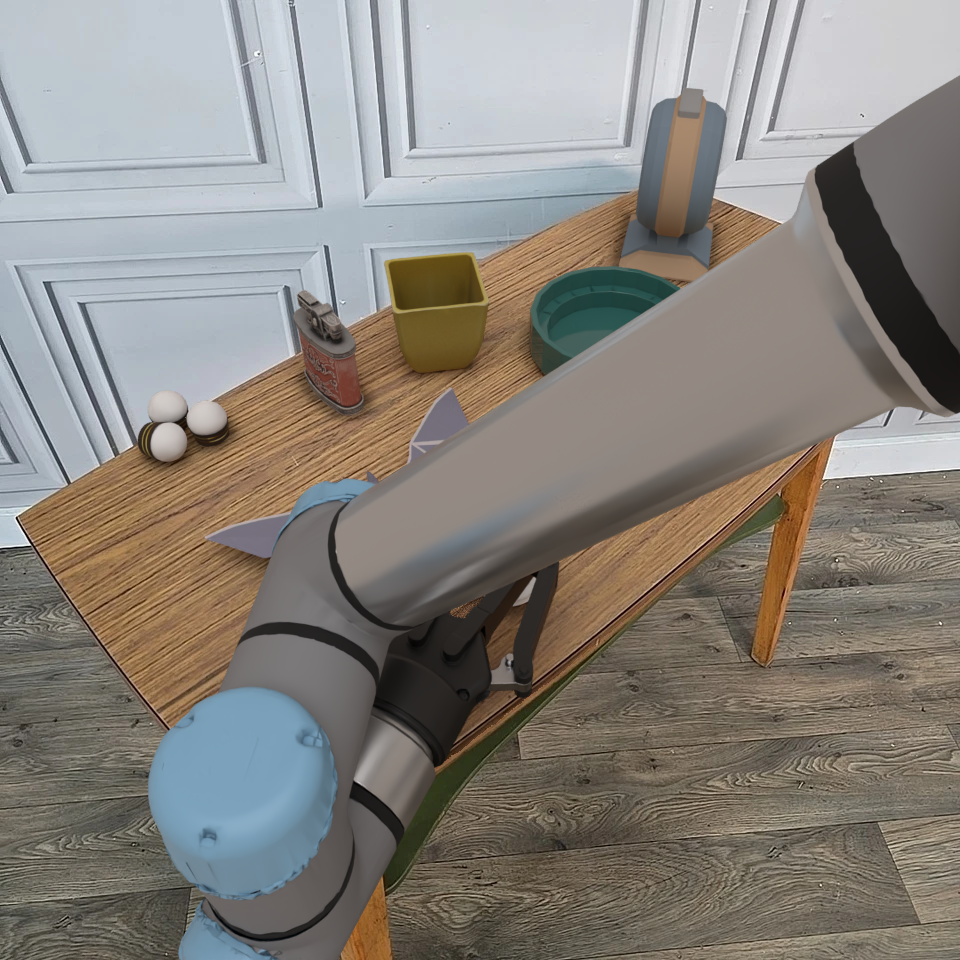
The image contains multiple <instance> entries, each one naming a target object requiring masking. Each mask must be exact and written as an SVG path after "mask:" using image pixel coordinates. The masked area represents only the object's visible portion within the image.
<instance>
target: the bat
mask: <svg viewBox="0 0 960 960" xmlns="http://www.w3.org/2000/svg"><path fill="white" fill-rule="evenodd" d="M469 424H470V422H469V421H468V418H467V417H466V415H465V412H464V411H463V409H462V406H461V403H460V401H459V399H458V397H457V395H456V393H455V391H454V389H453V387H451V386H450V387H448V388H447V389H446V390H445V391H443V393H441V394H440V395H438V397H437V398H435V400H434V401H433V403H432V404H431V405H430V407H429V408H428V410H427V412H426V414H425V415H424V417H423V419H422V421H421V422H420V424H419V426H418V427H417V429H416V431H415V432H414V434H413V436H412V437H411V439H410V441H409V442H408V443H409V445H408V450H409V451H408V457H407V461H406V464H405V465H407V464H408V463H410V462H411V461H413V460H414V459H416V458H418V457H419V456H421V455H422V454H424V453H425V452H427V451H428V450H430V449H432V448H433V447H435V446H436V445H438V444H439V443H441V442H443V441H444V440H446V439H447V438H449V437H450V436H452V435H453V434H455V433H457V432H458V431H460V430H461V429H463V428H464V427H466V426H468V425H469ZM366 480H367V482H370V483H373V484H377V483H379V482H380V481H379V479H378V478H377V477H376V476H375V475H374V474H373V473H372V472H371V471H369V470H367V471H366ZM290 513H291V511H287V512H283V513H278V514H273V515H268V516H263V517H258V518H253V519H249V520H245V521H242V522H238V523H233V524H229V525H228V526H225V527H222V528H221V529H218V530H215V531H214V532H211V533H209V534H207V535H205V536H204V539H205V540H206V541H209V542H211V543H217V544H220V545H223V546H227V547H230V548H232V549H235V550H238V551H241V552H244V553H248V554H251V555H253V556H257V557H259V558H263V559H267V558H271V556H272V550H273V545H274V543H275V542H276V539H277V536H278V533H279V531H280V530H281V528H282V527H283V526H284V524H285V523H286V521H287V519H288V517H289V515H290Z"/></svg>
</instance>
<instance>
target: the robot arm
mask: <svg viewBox="0 0 960 960" xmlns="http://www.w3.org/2000/svg"><path fill="white" fill-rule="evenodd" d="M897 408H911V409H915V410H918V411H922V412H926V413H929V414H932V415H936V416H939V417H942V418H950V417H953V416H955V415H958V414H960V74H959V75H957V76H956V77H954V78H953V79H951V80H949V81H947V82H946V83H944V84H942V85H941V86H939V87H937V88H935V89H934V90H932V91H930V92H928V93H927V94H925V95H923V96H921V97H920V98H918V99H916V100H915V101H913V102H912V103H910V104H909V105H907V106H906V107H904V108H902V109H901V110H899V111H897V112H896V113H894V114H893V115H891V116H890V117H888V118H886V119H885V120H884V121H882V122H881V123H879V124H878V125H876V126H875V127H873V128H872V129H870V130H869V131H867V132H866V133H864V134H863V135H861V136H859V137H858V138H856V139H855V140H854V141H852V142H850V143H849V144H847V145H846V146H844V147H843V148H841V149H840V150H838V151H837V152H835V153H833V154H832V155H830V156H829V157H827V159H825V160H823V161H822V162H820V163H819V164H817V165H816V166H814V167H813V168H812V169H810V170H808V172H807V174H806V176H805V179H804V183H803V187H802V191H801V193H800V197H799V200H798V204H797V207H796V210H795V212H794V214H793V215H792V216H791V218H789V219H788V220H786V221H784V222H783V223H782V224H780V225H777V227H775V228H774V229H772V230H770V231H769V232H767V233H766V234H764V235H763V236H761V237H760V238H758V239H757V240H755V241H754V242H752V243H750V244H749V245H747V246H746V247H744V248H743V249H740V250H739V251H738V252H736V253H735V254H733V255H732V256H729V257H728V258H727V259H725V260H724V261H722V262H721V263H719V264H717V265H716V266H715V267H713V268H711V269H710V270H708V272H707V273H705V274H703V275H702V276H700V277H699V278H697V279H696V280H694V281H692V282H688V284H686V285H684V286H683V287H681V289H680V290H678V291H677V292H675V293H674V294H672V295H671V296H669V297H667V298H666V299H664V300H663V301H661V302H660V303H658V304H657V305H655V306H653V307H652V308H650V309H649V310H647V311H646V312H644V313H642V314H641V315H639V316H638V317H636V318H635V319H633V320H632V321H630V322H628V323H627V324H625V325H624V326H622V327H621V328H619V329H617V330H616V331H614V332H613V333H611V334H610V335H608V336H607V337H605V338H603V339H602V340H600V341H599V342H597V343H596V344H594V345H592V346H591V347H589V348H588V349H586V350H585V351H583V352H582V353H580V354H578V355H577V356H575V357H574V358H572V359H571V360H569V361H567V362H566V363H564V364H563V365H561V366H560V367H558V368H557V369H555V370H553V371H552V372H550V373H549V374H547V375H544V376H542V377H541V378H540V379H537V380H536V381H534V382H533V383H531V384H530V385H528V386H527V387H526V388H524V389H522V390H520V391H519V392H517V393H516V394H515V395H512V396H511V397H509V398H508V399H507V400H505V401H503V402H502V403H500V404H499V405H497V406H496V407H494V408H492V409H491V410H489V411H487V412H486V413H485V414H483V415H482V416H479V417H478V418H476V419H475V420H474V421H472V422H471V423H469V425H468V426H466V427H464V428H463V429H461V430H460V431H458V432H457V433H455V434H453V435H452V436H450V437H449V438H447V439H446V440H444V441H443V442H441V443H439V444H438V445H436V446H435V447H433V448H432V449H430V450H428V451H427V452H425V453H424V454H422V455H421V456H419V457H418V458H416V459H414V460H413V461H411V462H410V463H408V464H407V463H406V464H407V465H406V464H405V465H404V466H402V467H400V468H399V469H397V470H396V471H394V472H393V473H391V474H390V475H388V476H387V477H385V478H383V479H381V480H380V481H379V483H377V484H373V483H370V482H368V481H366V480H361V479H357V478H342V479H341V480H339V481H335V482H333V481H332V482H331V481H330V480H323V481H321V482H318V483H316V484H314V485H311V486H310V487H309V488H307V489H306V490H305V491H304V492H303V493H302V494H301V495H300V496H299V497H298V499H297V500H296V502H295V504H294V506H293V508H292V509H291V511H290V512H291V513H290V515H289V517H288V519H287V521H286V523H285V524H284V526H283V527H282V528H281V530H280V531H279V533H278V536H277V539H276V542H275V543H274V545H273V550H272V556H271V557H270V559H269V562H268V564H267V566H266V570H265V572H264V575H263V577H262V579H261V583H260V585H259V588H258V590H257V593H256V595H255V598H254V601H253V604H252V606H251V609H250V611H249V614H248V617H247V619H246V622H245V625H244V626H243V629H242V632H241V635H240V638H239V639H238V642H237V645H236V647H235V649H234V651H233V655H232V656H231V659H230V662H229V663H228V664H229V665H228V666H227V669H226V671H225V674H224V676H223V679H222V681H221V684H220V687H219V689H218V691H217V693H215V694H212V695H210V696H208V697H205V698H203V699H202V700H200V701H199V702H196V703H195V704H194V705H193V706H192V707H191V709H190V710H189V711H188V712H187V713H186V714H185V715H184V716H183V717H181V719H179V720H178V721H177V723H175V725H174V726H172V727H170V729H168V731H167V732H166V733H165V734H164V736H163V737H162V739H161V740H160V743H159V744H158V747H157V749H156V751H155V752H154V755H153V758H152V760H151V765H150V768H149V773H148V774H149V775H148V779H147V797H148V804H149V810H150V814H151V817H152V819H153V821H154V823H155V825H156V827H157V829H158V831H159V833H160V835H161V838H162V843H163V844H164V847H165V851H166V853H167V855H168V857H169V858H170V860H171V861H172V863H173V865H174V867H175V868H176V870H177V871H178V872H179V873H180V874H181V875H183V877H184V878H185V879H186V881H188V883H191V884H193V885H194V886H195V887H196V888H197V889H198V891H199V892H200V893H201V894H202V895H203V896H204V897H205V898H203V899H202V900H201V901H200V902H199V904H198V905H197V906H196V908H195V912H194V916H193V918H192V920H191V921H190V924H189V926H188V927H187V929H186V931H185V933H184V934H183V936H182V938H181V939H180V944H179V946H178V959H179V960H339V958H340V957H341V955H342V953H343V951H344V949H345V947H346V945H347V944H348V941H349V939H350V938H351V936H352V934H353V932H354V931H355V928H356V927H357V925H358V922H359V921H360V919H361V917H362V915H363V913H364V911H365V909H366V908H367V906H368V904H369V902H370V901H371V898H372V896H373V894H374V892H375V890H376V889H377V887H378V885H379V883H380V881H381V879H382V878H383V875H384V874H385V872H386V870H387V868H388V866H389V865H390V862H391V860H392V859H393V857H394V855H395V854H396V851H397V848H398V847H399V845H400V843H401V841H402V840H403V838H404V835H405V834H406V833H407V829H408V828H409V826H410V824H411V823H412V821H413V819H414V818H415V816H416V814H417V812H418V810H419V808H420V807H421V805H422V803H423V801H424V799H425V798H426V796H427V794H428V792H429V790H430V789H431V787H432V786H433V783H434V781H435V780H436V776H437V772H436V768H438V767H441V766H442V765H443V764H444V763H445V762H446V760H447V758H448V756H449V754H450V752H451V750H452V748H453V747H454V745H455V743H456V741H457V740H458V737H459V736H460V733H461V732H462V730H463V728H464V726H465V725H466V723H467V721H468V719H469V717H470V715H471V713H472V711H473V710H474V709H475V708H476V707H477V706H478V705H479V704H481V703H482V702H483V701H485V700H486V699H488V697H489V696H490V695H491V693H492V692H505V691H511V692H512V691H513V692H514V695H515V696H516V697H518V698H521V699H525V698H528V697H530V696H531V695H532V692H533V681H534V680H533V679H534V663H533V662H534V661H533V660H534V657H535V654H536V652H537V649H538V645H539V642H540V639H541V637H542V633H543V630H544V627H545V625H546V621H547V618H548V615H549V612H550V610H551V607H552V603H553V600H554V597H555V594H556V591H557V588H558V583H559V574H560V573H559V572H560V562H561V561H562V560H565V559H567V558H570V557H571V556H574V555H576V554H578V553H580V552H582V551H584V550H587V549H590V548H592V547H593V546H596V545H599V544H601V543H603V542H604V541H607V540H609V539H611V538H614V537H616V536H617V535H620V534H622V533H624V532H626V531H629V530H631V529H633V528H635V527H637V526H640V525H642V524H644V523H646V522H648V521H651V520H653V519H655V518H657V517H660V516H661V515H664V514H666V513H668V512H670V511H673V510H675V509H678V508H680V507H681V506H683V505H686V504H688V503H690V502H692V501H695V500H697V499H699V498H701V497H703V496H706V495H708V494H710V493H712V492H714V491H716V490H719V489H721V488H723V487H725V486H727V485H729V484H732V483H734V482H736V481H738V480H741V479H743V478H745V477H747V476H750V475H752V474H754V473H757V472H759V471H761V470H763V469H765V468H767V467H770V466H772V465H774V464H776V463H779V462H780V461H783V460H785V459H787V458H789V457H791V456H793V455H796V454H798V453H800V452H803V451H804V450H806V449H808V448H811V447H813V446H815V445H818V444H819V443H822V442H824V441H826V440H828V439H831V438H833V437H836V436H838V435H839V434H842V433H844V432H846V431H848V430H850V429H853V428H855V427H858V426H859V425H861V424H864V423H866V422H868V421H871V420H872V419H875V418H878V417H880V416H881V415H883V414H885V413H889V412H891V411H892V410H895V409H897ZM533 577H535V578H536V581H535V583H534V586H533V589H532V592H531V595H530V597H529V600H528V602H526V606H525V609H524V612H523V614H522V617H521V619H520V623H519V626H518V628H517V632H516V634H515V636H514V637H515V638H514V641H513V646H512V653H511V652H509V653H507V654H506V655H505V656H503V657H502V658H501V660H500V663H499V665H498V667H496V668H495V669H491V663H490V659H489V655H488V649H487V646H488V645H489V643H490V641H491V640H492V636H493V634H494V632H495V631H496V630H497V628H498V627H499V626H500V624H501V623H502V621H503V620H504V619H505V618H506V616H507V615H508V614H509V612H510V610H511V609H512V608H513V607H514V606H513V605H514V603H515V602H516V601H517V599H518V598H519V597H520V595H521V594H522V592H523V591H524V590H525V588H526V587H527V585H528V584H529V583H530V581H531V580H532V579H533ZM484 595H485V596H484ZM481 597H482V599H480V601H479V603H478V604H477V605H474V606H472V607H471V608H470V610H469V611H468V613H466V615H465V616H464V617H462V616H461V617H460V616H455V615H453V614H452V613H451V612H452V611H453V610H455V609H458V608H460V607H462V606H463V605H466V604H469V603H470V602H473V601H475V600H477V599H479V598H481Z"/></svg>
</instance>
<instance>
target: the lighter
mask: <svg viewBox="0 0 960 960" xmlns="http://www.w3.org/2000/svg"><path fill="white" fill-rule="evenodd" d="M296 298H297V304H298V306H299V307H300V308H298V309H296V310H295V311H294V312H293V313H292V317H293V323H294V325H295V327H296V328H297V332H298V336H299V342H300V346H301V351H302V357H303V361H304V366H305V368H304V370H303V371H304V377H305V381H306V383H307V384H308V386H309V387H310V389H311V390H312V392H313V393H314V394H315V395H316V396H317V397H318V399H319V400H321V401H322V402H323V403H324V404H325V405H327V406H328V407H329V408H330V409H332V410H334V411H335V412H337V413H339V414H340V415H342V416H355V415H357V414H359V413H360V412H362V411H363V409H365V399H364V398H365V397H364V395H363V393H362V392H361V385H360V379H359V378H360V377H359V372H358V365H357V357H356V351H357V342H356V339H355V337H353V335H352V333H351V331H349V329H348V328H347V327H346V326H345V325H344V324H343V323H342V319H341V318H340V317H338V315H336V313H335V312H336V311H334V308H333V306H332V305H331V304H330V303H328V302H325V303H322V302H321V301H320V300H319V299H317V298H316V297H315V296H314V295H313V294H312V293H311V292H310V291H308V290H307V289H303V290H300V291H299V292H298V293H297V294H296Z"/></svg>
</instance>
